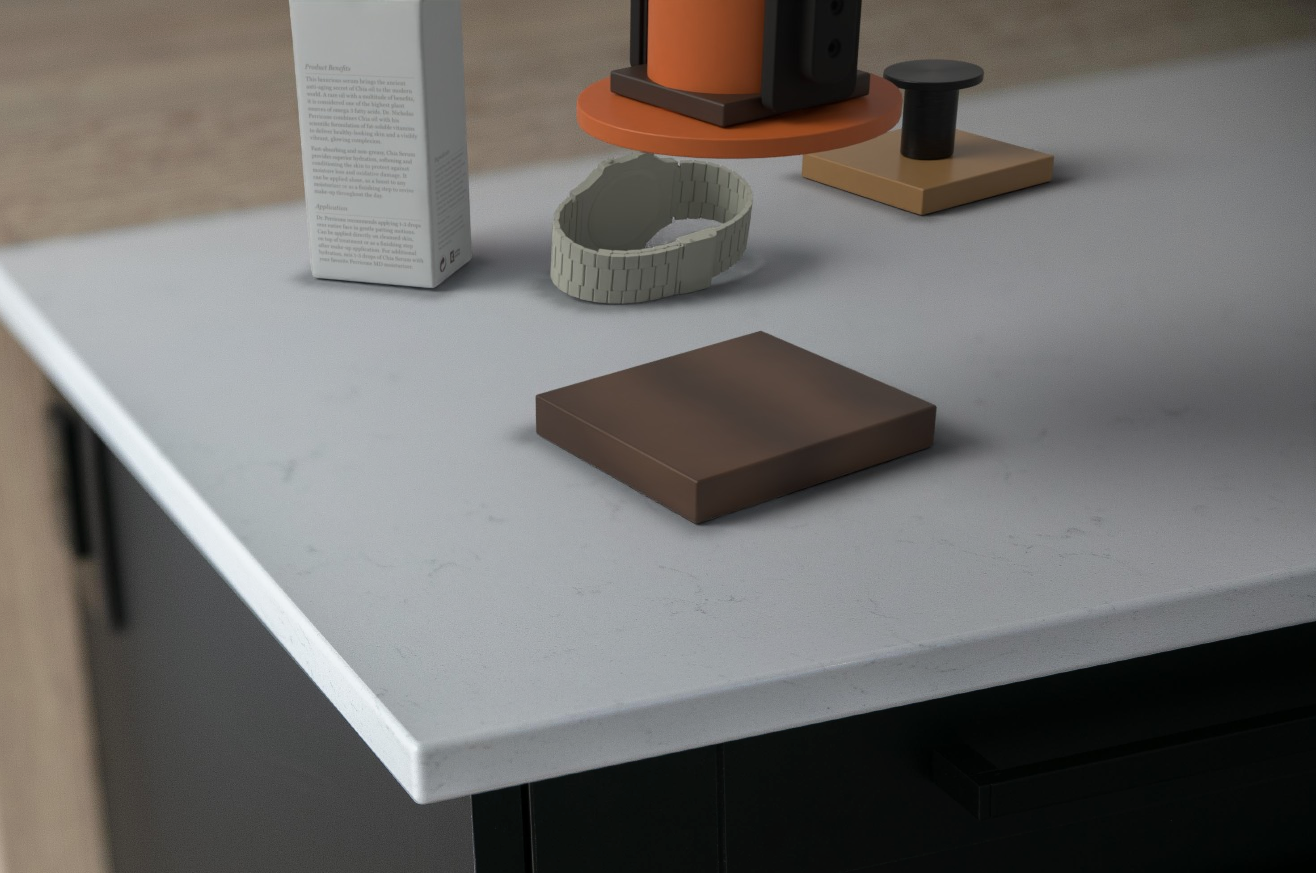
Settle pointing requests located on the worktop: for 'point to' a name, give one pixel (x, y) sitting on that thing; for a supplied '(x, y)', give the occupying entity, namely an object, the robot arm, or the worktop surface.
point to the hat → (721, 93)
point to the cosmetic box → (383, 138)
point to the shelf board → (733, 424)
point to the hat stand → (930, 149)
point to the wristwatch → (648, 229)
